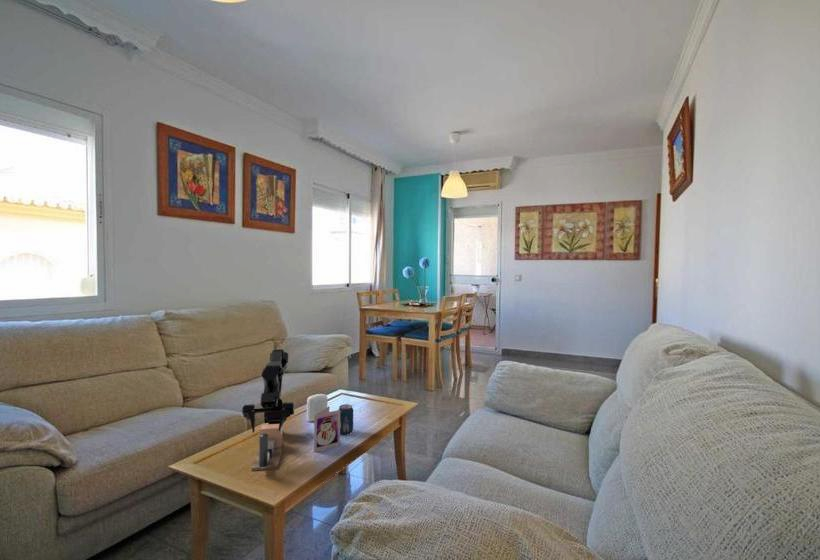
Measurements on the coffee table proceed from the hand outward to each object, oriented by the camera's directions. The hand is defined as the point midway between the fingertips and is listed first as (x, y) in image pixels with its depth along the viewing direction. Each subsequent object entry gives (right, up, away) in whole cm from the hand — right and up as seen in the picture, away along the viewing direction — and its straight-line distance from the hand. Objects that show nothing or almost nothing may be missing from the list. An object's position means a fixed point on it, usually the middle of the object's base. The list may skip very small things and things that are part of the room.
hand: (266, 431), depth 142 cm
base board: (-2, -13, +7) cm, 14 cm away
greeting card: (+18, -13, +17) cm, 28 cm away
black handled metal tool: (0, -11, +1) cm, 11 cm away
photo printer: (+8, -12, +45) cm, 47 cm away
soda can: (+25, -13, +30) cm, 41 cm away
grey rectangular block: (-2, -12, +7) cm, 14 cm away
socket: (-3, -11, +14) cm, 18 cm away
